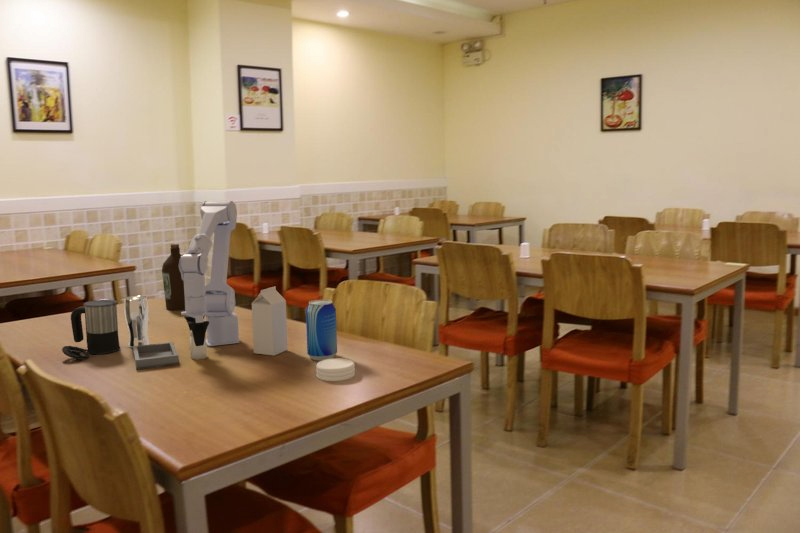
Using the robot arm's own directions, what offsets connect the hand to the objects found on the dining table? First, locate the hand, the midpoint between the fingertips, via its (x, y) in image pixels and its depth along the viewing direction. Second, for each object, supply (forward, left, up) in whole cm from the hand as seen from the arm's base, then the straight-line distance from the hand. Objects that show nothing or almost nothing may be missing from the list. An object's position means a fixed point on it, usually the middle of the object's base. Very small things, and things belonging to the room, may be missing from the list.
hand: (197, 342), depth 191 cm
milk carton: (-20, +4, -5) cm, 21 cm away
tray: (+11, -3, -4) cm, 13 cm away
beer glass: (+15, -22, -5) cm, 27 cm away
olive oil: (-2, -76, -5) cm, 76 cm away
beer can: (-32, +16, -5) cm, 36 cm away
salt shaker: (0, 0, -4) cm, 4 cm away
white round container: (-30, +34, -5) cm, 46 cm away
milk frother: (+28, -18, -5) cm, 34 cm away
